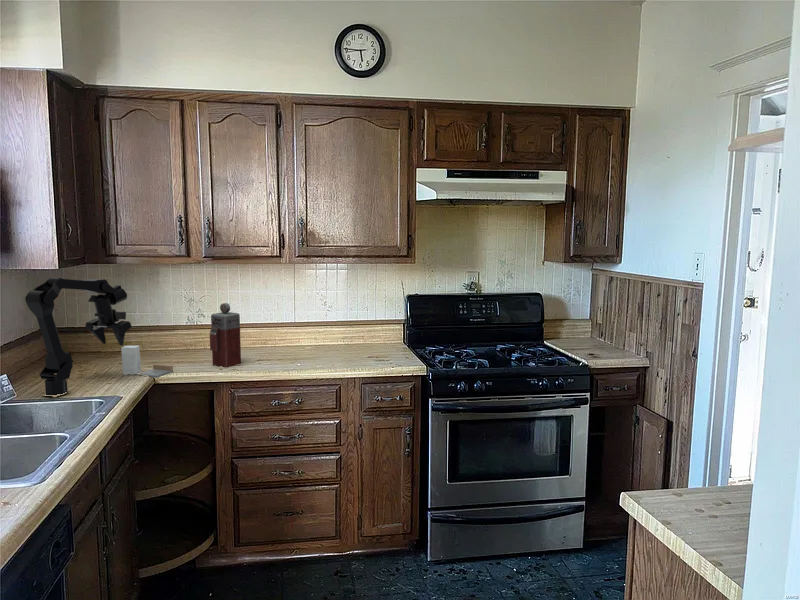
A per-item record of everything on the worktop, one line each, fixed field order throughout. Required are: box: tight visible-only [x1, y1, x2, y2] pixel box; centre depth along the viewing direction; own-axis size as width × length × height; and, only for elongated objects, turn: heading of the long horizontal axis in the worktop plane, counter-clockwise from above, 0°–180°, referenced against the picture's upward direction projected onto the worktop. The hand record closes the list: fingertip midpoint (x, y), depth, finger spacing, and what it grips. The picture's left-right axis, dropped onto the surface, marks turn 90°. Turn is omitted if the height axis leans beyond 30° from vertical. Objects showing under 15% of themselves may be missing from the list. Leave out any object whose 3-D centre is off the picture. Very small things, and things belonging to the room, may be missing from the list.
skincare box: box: [120, 345, 142, 375], centre depth 240 cm, size 6×4×12 cm
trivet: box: [140, 363, 174, 379], centre depth 242 cm, size 10×9×3 cm
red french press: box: [209, 302, 242, 368], centre depth 256 cm, size 9×11×28 cm
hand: (113, 344), depth 234 cm, fingers open, 9 cm apart
